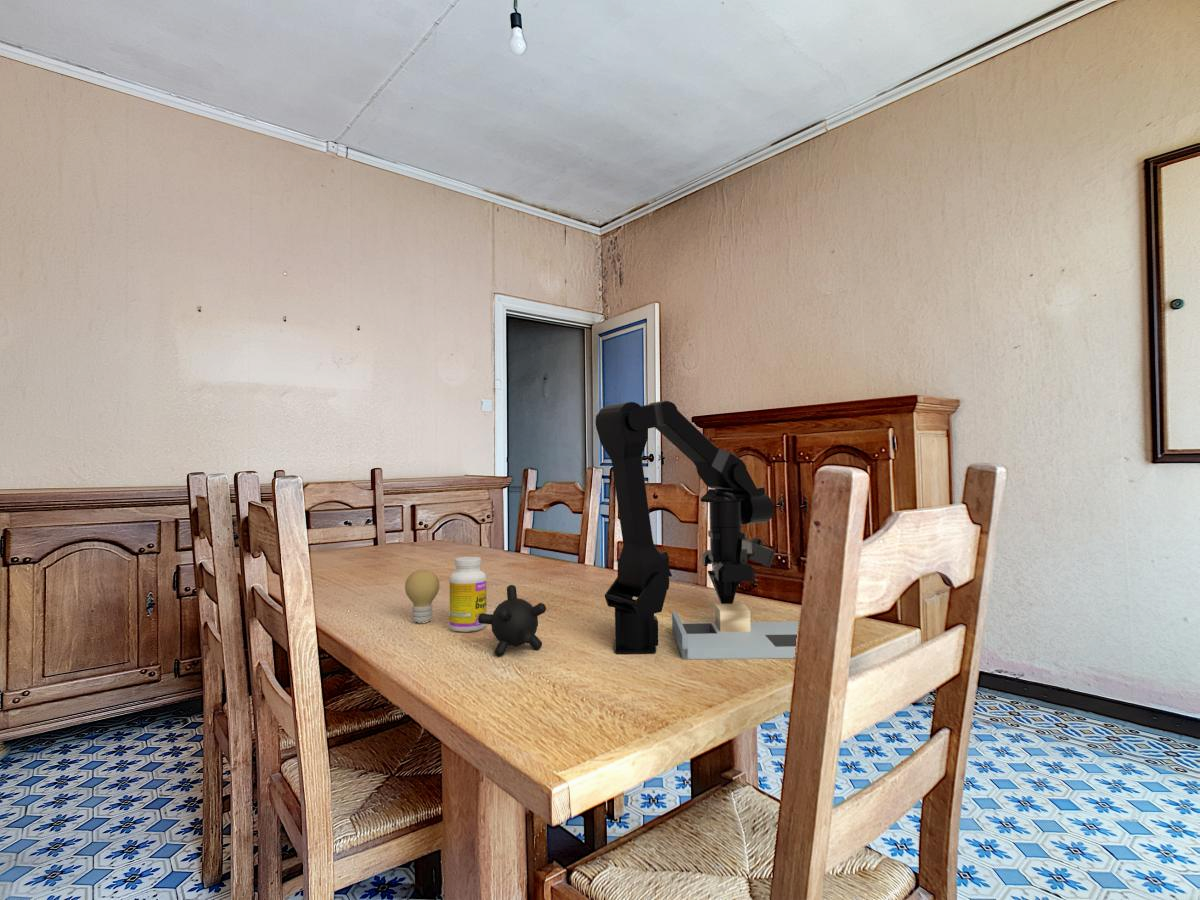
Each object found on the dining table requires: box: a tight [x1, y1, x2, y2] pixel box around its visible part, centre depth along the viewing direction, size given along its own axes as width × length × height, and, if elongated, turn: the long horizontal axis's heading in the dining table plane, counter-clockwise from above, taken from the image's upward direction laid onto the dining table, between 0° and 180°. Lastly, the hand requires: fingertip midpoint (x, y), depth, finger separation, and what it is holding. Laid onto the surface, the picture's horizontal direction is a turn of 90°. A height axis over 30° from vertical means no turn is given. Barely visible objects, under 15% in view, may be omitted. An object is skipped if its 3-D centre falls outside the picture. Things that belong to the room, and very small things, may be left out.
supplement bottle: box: [449, 556, 488, 632], centre depth 112 cm, size 7×7×13 cm
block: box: [714, 603, 751, 632], centre depth 103 cm, size 5×5×4 cm
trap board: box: [671, 610, 798, 660], centre depth 99 cm, size 23×15×4 cm, turn 89°
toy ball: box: [478, 584, 547, 657], centre depth 98 cm, size 11×11×12 cm
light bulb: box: [404, 569, 440, 623], centre depth 117 cm, size 6×6×10 cm
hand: (727, 612), depth 111 cm, fingers closed
